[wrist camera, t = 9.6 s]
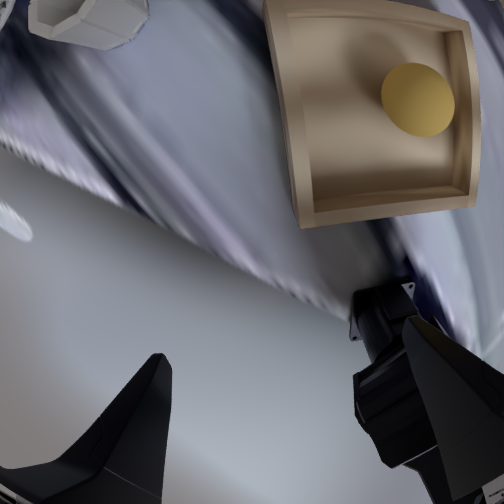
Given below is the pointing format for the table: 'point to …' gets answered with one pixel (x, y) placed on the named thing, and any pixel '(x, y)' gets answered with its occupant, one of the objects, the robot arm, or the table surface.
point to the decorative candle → (5, 11)
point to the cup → (88, 21)
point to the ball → (417, 99)
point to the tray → (370, 109)
